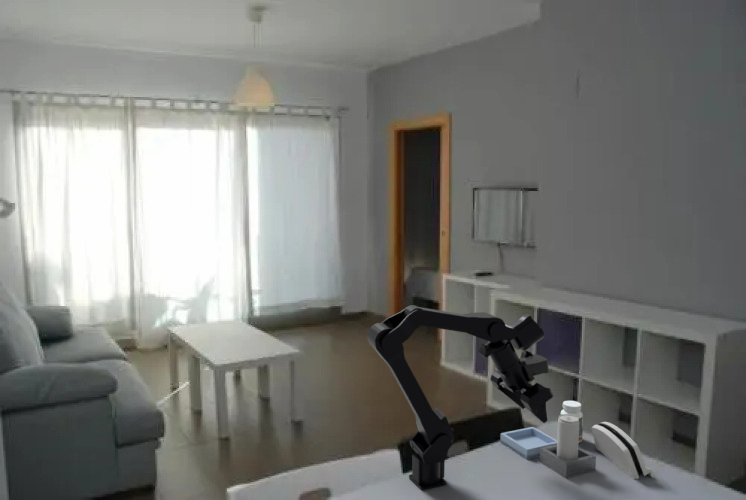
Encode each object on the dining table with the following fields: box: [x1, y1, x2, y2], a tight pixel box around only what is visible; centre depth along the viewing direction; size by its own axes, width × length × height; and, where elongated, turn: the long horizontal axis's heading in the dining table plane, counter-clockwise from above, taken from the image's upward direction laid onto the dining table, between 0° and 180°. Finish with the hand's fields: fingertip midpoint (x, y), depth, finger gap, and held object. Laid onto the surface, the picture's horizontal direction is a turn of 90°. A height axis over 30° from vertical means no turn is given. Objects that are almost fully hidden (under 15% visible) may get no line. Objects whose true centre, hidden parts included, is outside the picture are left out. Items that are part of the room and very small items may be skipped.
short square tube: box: [539, 444, 597, 479], centre depth 138 cm, size 9×9×4 cm
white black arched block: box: [591, 421, 654, 480], centre depth 140 cm, size 17×5×10 cm, turn 9°
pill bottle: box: [560, 400, 584, 443], centre depth 153 cm, size 6×6×10 cm
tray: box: [500, 426, 557, 460], centre depth 149 cm, size 11×11×2 cm
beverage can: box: [556, 414, 580, 461], centre depth 138 cm, size 5×5×12 cm
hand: (534, 414), depth 138 cm, fingers open, 9 cm apart
